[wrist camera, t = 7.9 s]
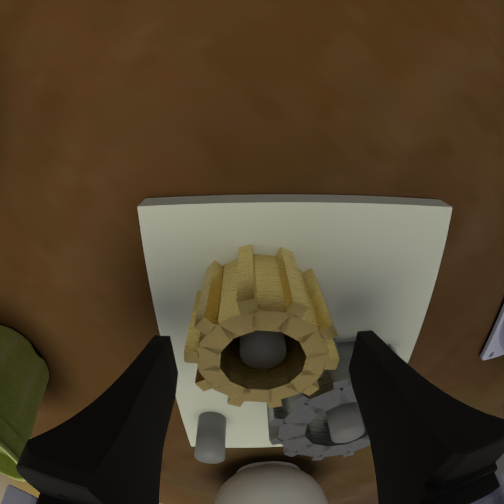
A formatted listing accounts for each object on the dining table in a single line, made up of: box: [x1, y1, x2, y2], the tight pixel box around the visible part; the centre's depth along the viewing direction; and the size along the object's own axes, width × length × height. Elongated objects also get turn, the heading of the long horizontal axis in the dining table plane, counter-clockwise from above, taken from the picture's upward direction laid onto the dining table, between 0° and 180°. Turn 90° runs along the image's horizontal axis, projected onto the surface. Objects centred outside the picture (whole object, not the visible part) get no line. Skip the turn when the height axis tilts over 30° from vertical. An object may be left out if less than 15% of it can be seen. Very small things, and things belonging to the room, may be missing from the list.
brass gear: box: [184, 244, 340, 408], centre depth 13 cm, size 6×6×4 cm
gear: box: [267, 338, 398, 460], centre depth 16 cm, size 8×8×3 cm
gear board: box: [137, 194, 452, 464], centre depth 15 cm, size 14×18×5 cm
